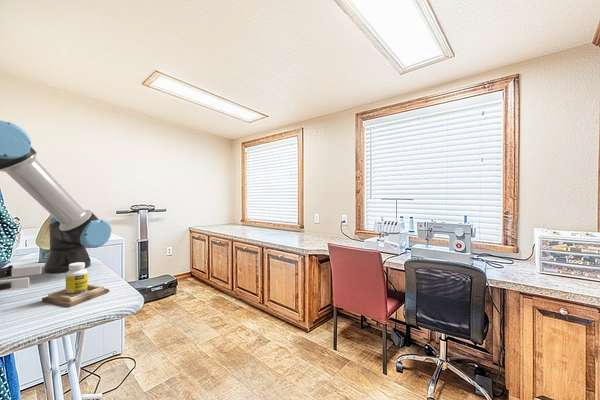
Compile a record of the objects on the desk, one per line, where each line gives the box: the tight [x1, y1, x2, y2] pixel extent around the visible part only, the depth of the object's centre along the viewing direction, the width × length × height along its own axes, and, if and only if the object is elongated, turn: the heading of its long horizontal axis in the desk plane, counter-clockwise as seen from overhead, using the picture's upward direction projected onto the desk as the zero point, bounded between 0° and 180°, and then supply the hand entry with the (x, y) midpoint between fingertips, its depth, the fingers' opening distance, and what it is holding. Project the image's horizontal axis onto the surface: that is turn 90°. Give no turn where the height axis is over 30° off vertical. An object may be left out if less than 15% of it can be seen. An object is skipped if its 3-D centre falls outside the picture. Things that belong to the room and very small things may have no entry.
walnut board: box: [41, 283, 110, 308], centre depth 85 cm, size 12×12×2 cm
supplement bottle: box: [65, 262, 89, 296], centre depth 85 cm, size 5×5×10 cm
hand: (35, 275), depth 79 cm, fingers open, 13 cm apart
